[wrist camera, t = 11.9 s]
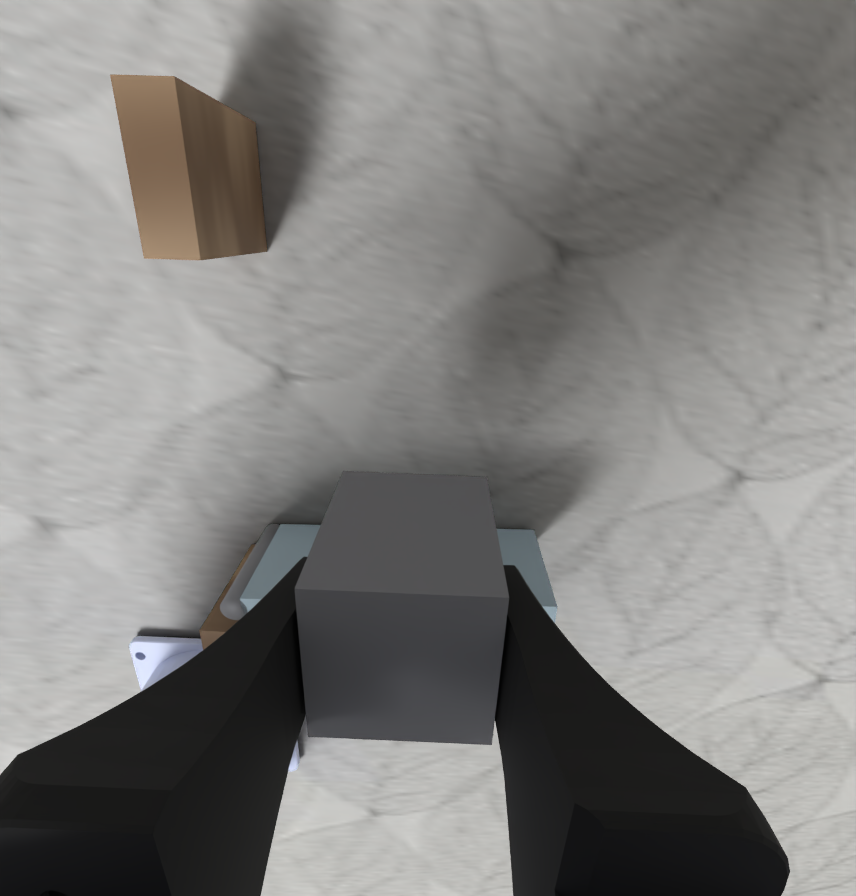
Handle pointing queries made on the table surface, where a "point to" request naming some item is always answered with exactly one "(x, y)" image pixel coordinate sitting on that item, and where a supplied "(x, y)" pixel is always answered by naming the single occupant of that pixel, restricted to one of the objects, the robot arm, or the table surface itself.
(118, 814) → the robot arm
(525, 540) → the door
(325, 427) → the table surface
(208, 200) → the door frame
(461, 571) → the block
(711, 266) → the table surface
